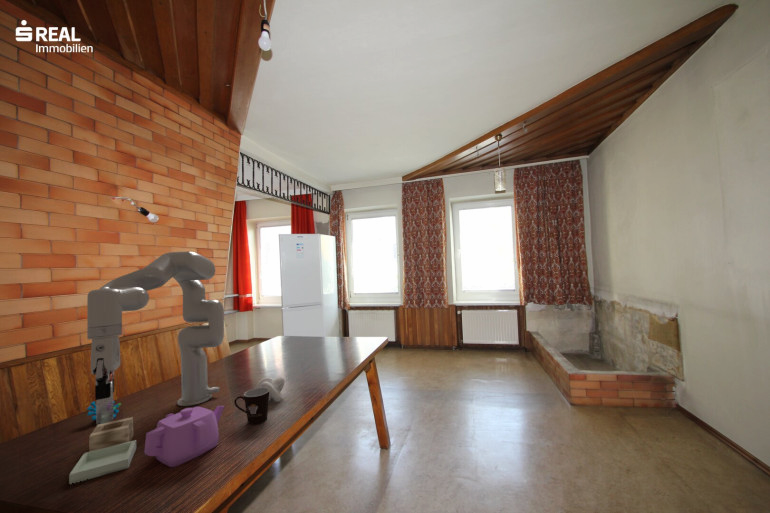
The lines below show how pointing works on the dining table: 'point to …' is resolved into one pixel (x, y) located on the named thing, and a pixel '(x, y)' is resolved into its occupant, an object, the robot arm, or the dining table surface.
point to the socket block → (111, 434)
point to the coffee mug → (255, 405)
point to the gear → (95, 410)
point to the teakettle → (184, 435)
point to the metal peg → (105, 406)
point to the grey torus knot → (272, 387)
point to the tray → (103, 461)
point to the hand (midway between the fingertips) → (105, 395)
